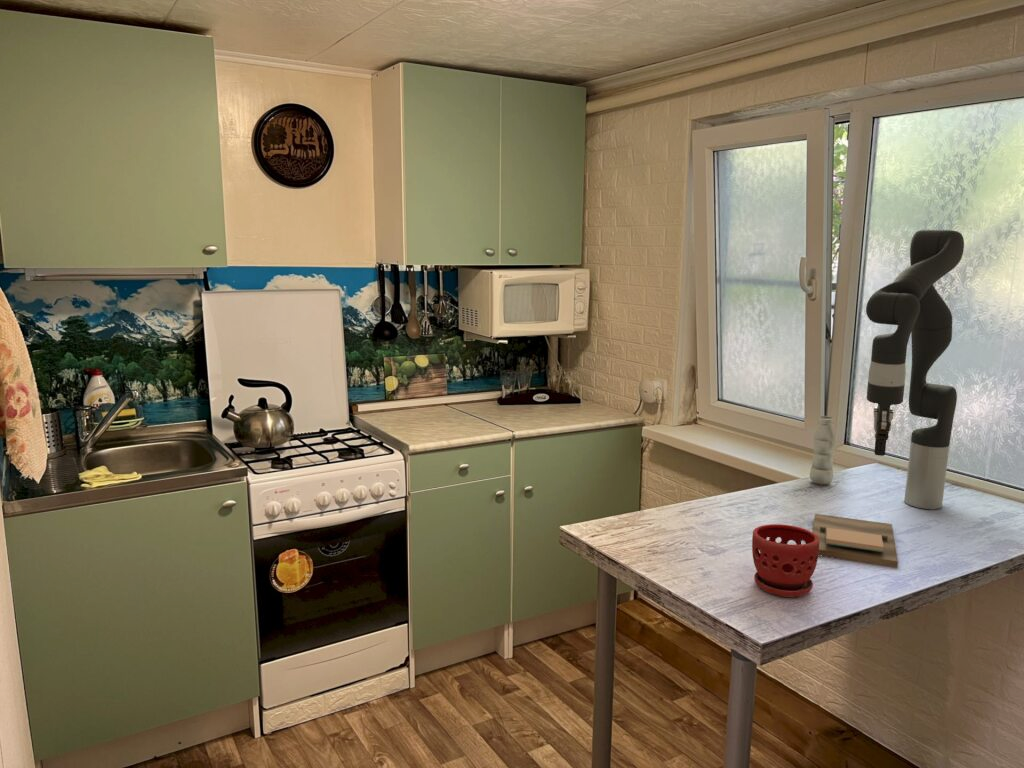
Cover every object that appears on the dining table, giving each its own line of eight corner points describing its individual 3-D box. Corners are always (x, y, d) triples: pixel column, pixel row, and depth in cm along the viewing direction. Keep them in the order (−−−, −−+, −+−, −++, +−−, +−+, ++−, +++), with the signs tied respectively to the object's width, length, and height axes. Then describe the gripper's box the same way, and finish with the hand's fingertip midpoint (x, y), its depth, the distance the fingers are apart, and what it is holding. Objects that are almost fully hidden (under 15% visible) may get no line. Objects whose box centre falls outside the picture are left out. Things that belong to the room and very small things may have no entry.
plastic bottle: (811, 486, 227) (817, 419, 223) (806, 479, 233) (812, 414, 229) (834, 487, 226) (841, 420, 222) (829, 480, 232) (835, 415, 228)
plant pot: (828, 590, 162) (833, 536, 160) (789, 607, 155) (793, 551, 152) (774, 568, 173) (778, 517, 170) (736, 583, 165) (739, 530, 163)
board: (814, 519, 202) (815, 509, 201) (891, 529, 195) (892, 519, 194) (810, 554, 180) (811, 543, 179) (897, 567, 173) (898, 556, 173)
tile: (881, 535, 184) (880, 540, 184) (826, 527, 189) (826, 532, 189) (883, 546, 175) (883, 552, 175) (826, 538, 180) (825, 543, 180)
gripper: (906, 388, 169) (899, 465, 173) (903, 376, 181) (896, 447, 184) (868, 386, 172) (862, 461, 175) (867, 374, 183) (861, 444, 187)
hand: (879, 454), depth 180 cm, fingers closed
